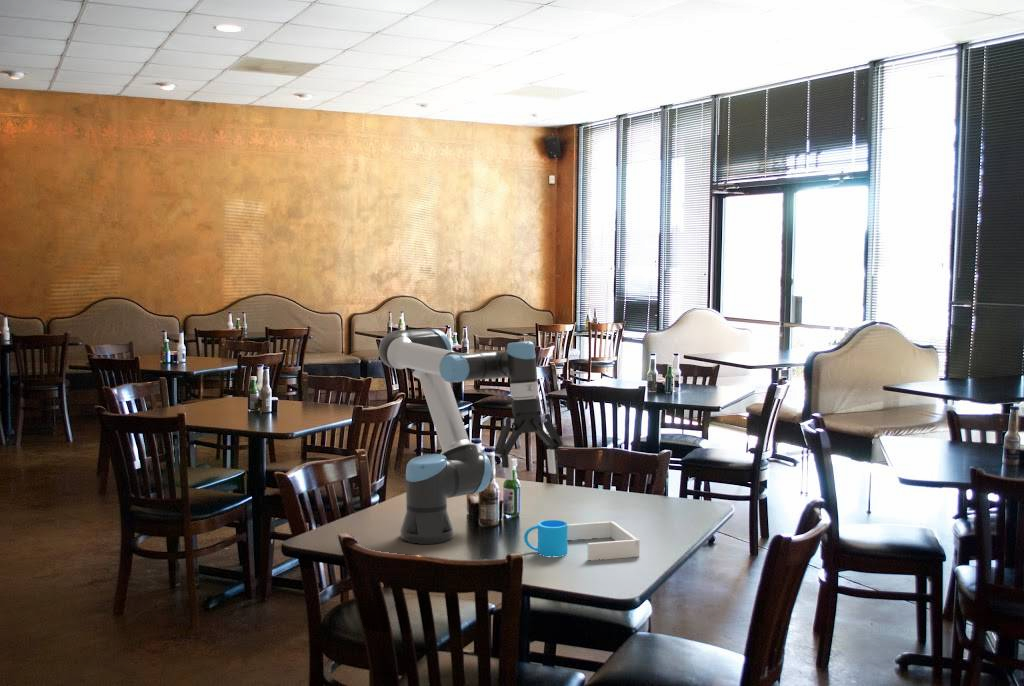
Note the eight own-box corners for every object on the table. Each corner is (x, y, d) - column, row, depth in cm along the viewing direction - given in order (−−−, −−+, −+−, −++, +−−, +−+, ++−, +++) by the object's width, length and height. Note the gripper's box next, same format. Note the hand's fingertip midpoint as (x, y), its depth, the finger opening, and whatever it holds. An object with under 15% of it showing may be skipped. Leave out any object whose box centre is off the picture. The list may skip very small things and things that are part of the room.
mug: (568, 549, 266) (568, 520, 266) (566, 558, 258) (566, 528, 258) (525, 547, 268) (525, 518, 268) (521, 556, 260) (521, 526, 260)
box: (588, 560, 256) (588, 544, 256) (565, 539, 275) (565, 524, 275) (639, 556, 260) (639, 540, 259) (613, 536, 279) (613, 521, 279)
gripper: (491, 402, 251) (497, 483, 251) (570, 394, 264) (577, 471, 263) (478, 402, 258) (484, 481, 257) (556, 394, 270) (562, 469, 270)
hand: (531, 476), depth 260 cm, fingers open, 13 cm apart
